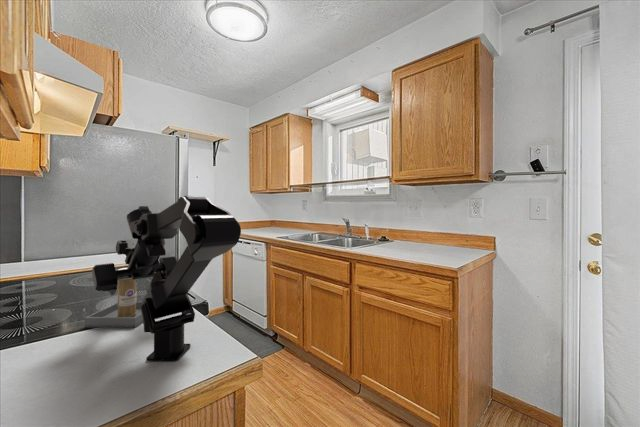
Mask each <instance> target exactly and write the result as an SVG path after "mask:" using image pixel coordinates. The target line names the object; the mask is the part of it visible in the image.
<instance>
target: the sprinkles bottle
mask: <svg viewBox="0 0 640 427" xmlns="http://www.w3.org/2000/svg"><path fill="white" fill-rule="evenodd" d="M127 268H128V267H122V268H119V269H117V270H124V269H127ZM116 299H117V302H118V315H117V317H133V316H135V315H136V302H137V279H134V280H133V279H132V278H131V279H124V280H118V284H117V298H116Z"/></svg>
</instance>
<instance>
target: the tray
mask: <svg viewBox="0 0 640 427" xmlns="http://www.w3.org/2000/svg"><path fill="white" fill-rule="evenodd" d="M141 305H142V301H136V315H135V316H133V317H117V315H118V301H117V302H116V303H114V304H111V305H109V306H107V307H105V308H102V309H100V310H98V311H96V312H94V313H92V314H90V315H88V316H85V317H84V328H97V329H98V328H99V329H100V328H108V329H109V328H110V329H111V328H113V329H114V328H115V329H116V328H118V329H120V328H121V329H123V328H126V329H132V328H135V329H136V328H137V327H138V326H140V325H143V317H142V313H141Z"/></svg>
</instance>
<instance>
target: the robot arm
mask: <svg viewBox="0 0 640 427" xmlns="http://www.w3.org/2000/svg"><path fill="white" fill-rule="evenodd" d="M126 221H127V224H128V228H129V231H130V234H131V237H132V239H124V240H117V241H116V245H115V251H116V254H117V255H125V259H124V262H125V265H127V267H126V268H127V269H124V270H118V269H117V270H116V267H115V264H114V263H113V262H110V263H109V262H108V263H101V264H95V265H94V266H93V267H92V270H91V275H92V280H93V285H94V289H95V291H98V292H101V291H102V292H107V293H110V296H111V297H112V296H115V293H116V291H118V280H124V279H131V278H132V279H133V280H134V279H136V280H140V279H146V278H152V279H151V281H150V284H149V287H148V289H147V290H146V291H145V292H146V294H145V296H144V298H143V299H142V301H141V302H142V305H141V313H142V317H143V323H142V325H143V333H150V334H152V335H153V351H152V352H151V353H150V354H149V355H148V356H146V357H145V359H146V361H159V362H160V361H162V362H163V361H165V362H167V361H172V362H174V361H175V362H176V361H179V360H180V358H181V357H182V356H183V355H184V354H185V353H186V352H187V351H188V350H189V349H190V348H191V343H185V324H188V323H194V321H195V318H196V317H195V316H196V313H195V309H194V308H193V305H192V301H191V300H190V296H189V294H188V293H189V292H190V290H191V289H192V287H193V286H194V285H195V283H196V282H197V280H199V278H200V277H201V275H202V274H203V273H204V271H205V270H206V268H207V267H208V265H209V264H211V262H212V261H213V259H215V258H216V257H219V256H221V255H224V254H225V253H228V252H229V251H230V250H231V249H233V248H234V247H235V246H236V245H237V244H238V243H239V240H240V237H241V233H242V228H241V224H240V223H239V221H238V220H237V219H236V218H235V217H234V216H233V215H232V214H231V213H230V212H229V211H228V210H226V209H224V208H222V207H220V206H219V205H216V204H215V203H214V202H212V200H211V199H210V198H209V197H206V196H204V195H203V196H202V195H183V196H179V198H178V200H177V201H176V202H174V203H173V204H171V205H170V206H168V207H166V208H165V209H164V210H162V211H160V212H156V213H153V212H152V211H151V210H150V208H149V206H148V205H139V206H138V208H137V209H133V210H132V211H130V212H129V213H128V214H127V215H126ZM179 232H180V233H181V234H182V236H183V237H184V239H185V242H186V245H187V246H186V247H185V249H184V251H183V252H182V253H181V256H180V257H179V259H177V257H176V256H166V249H165V245H166V240H168V239H171V240H172V239H174V237H176V236H177V235H178V234H179ZM162 256H163V257H162ZM179 313H181V314H179ZM172 315H174V316H172ZM169 316H170V317H169ZM166 317H167V318H166ZM161 318H163V319H161ZM156 319H157V320H156ZM158 319H160V320H158Z"/></svg>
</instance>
